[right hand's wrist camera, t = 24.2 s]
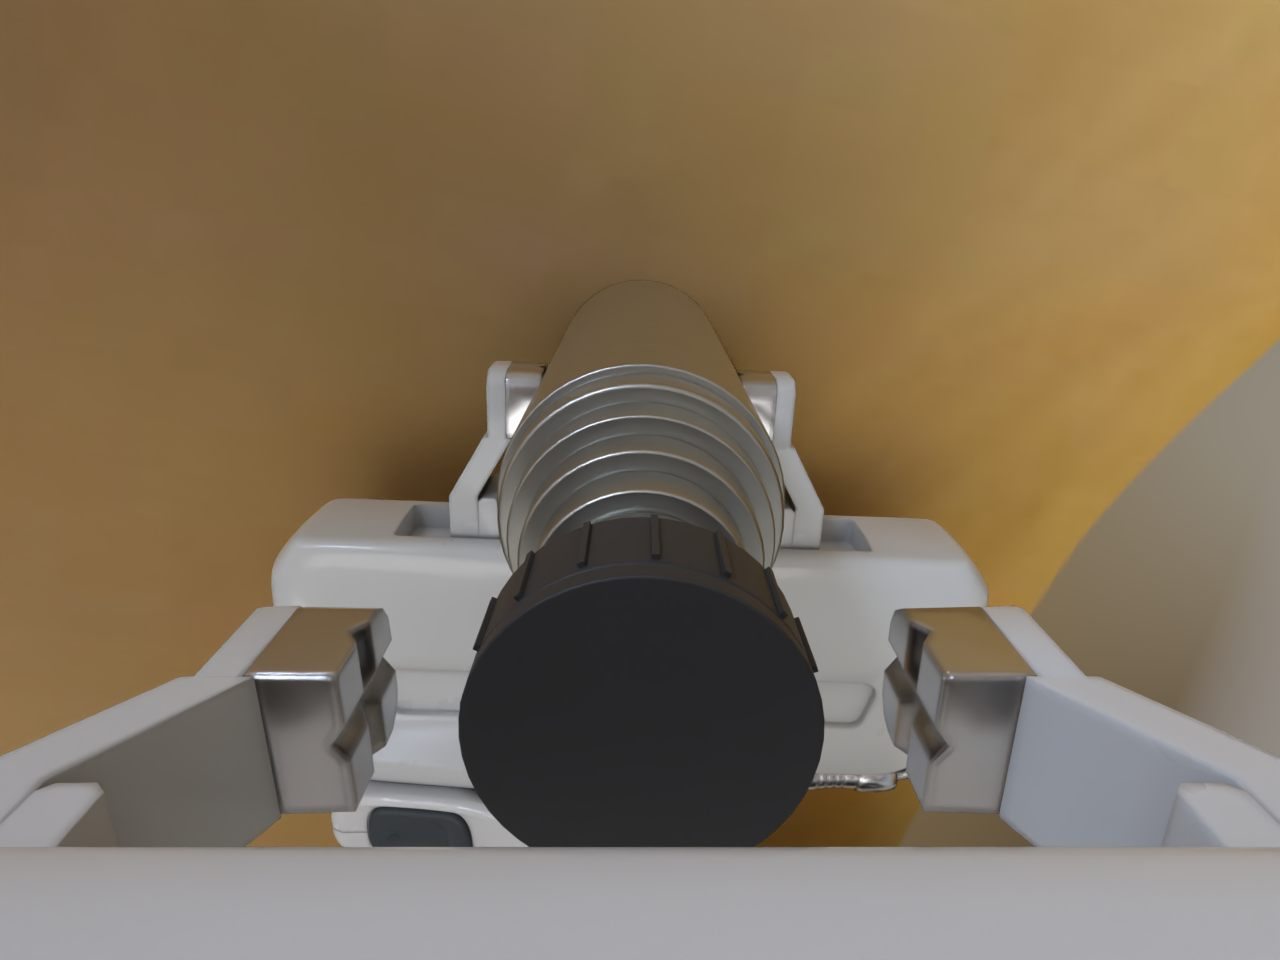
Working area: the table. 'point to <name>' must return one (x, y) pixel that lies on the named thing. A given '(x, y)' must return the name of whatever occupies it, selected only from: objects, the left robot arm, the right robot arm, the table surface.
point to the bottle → (640, 431)
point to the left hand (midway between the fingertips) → (640, 369)
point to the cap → (641, 693)
